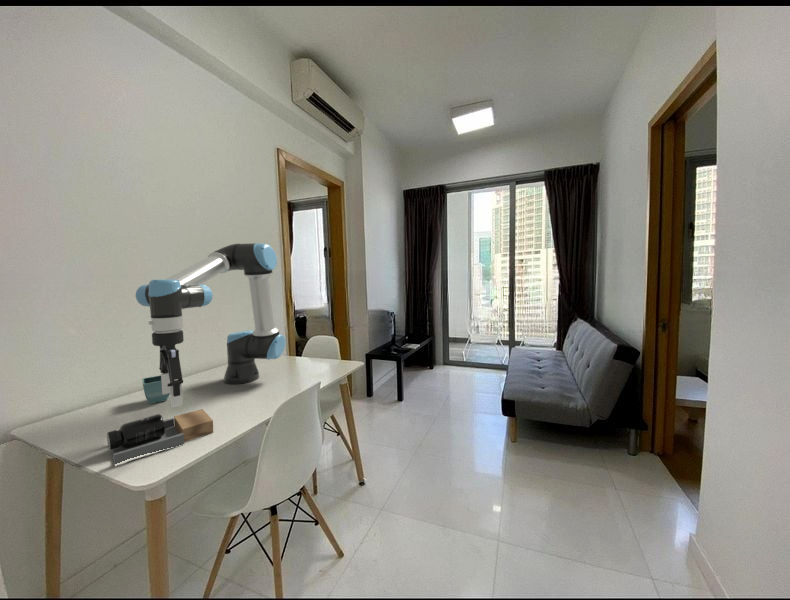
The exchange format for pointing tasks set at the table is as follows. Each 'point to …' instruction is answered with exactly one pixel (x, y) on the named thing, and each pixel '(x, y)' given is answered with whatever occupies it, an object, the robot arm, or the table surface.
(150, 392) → the flower pot
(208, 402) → the table surface
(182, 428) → the walnut ledge
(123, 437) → the supplement bottle
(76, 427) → the table surface
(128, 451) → the grey tray
